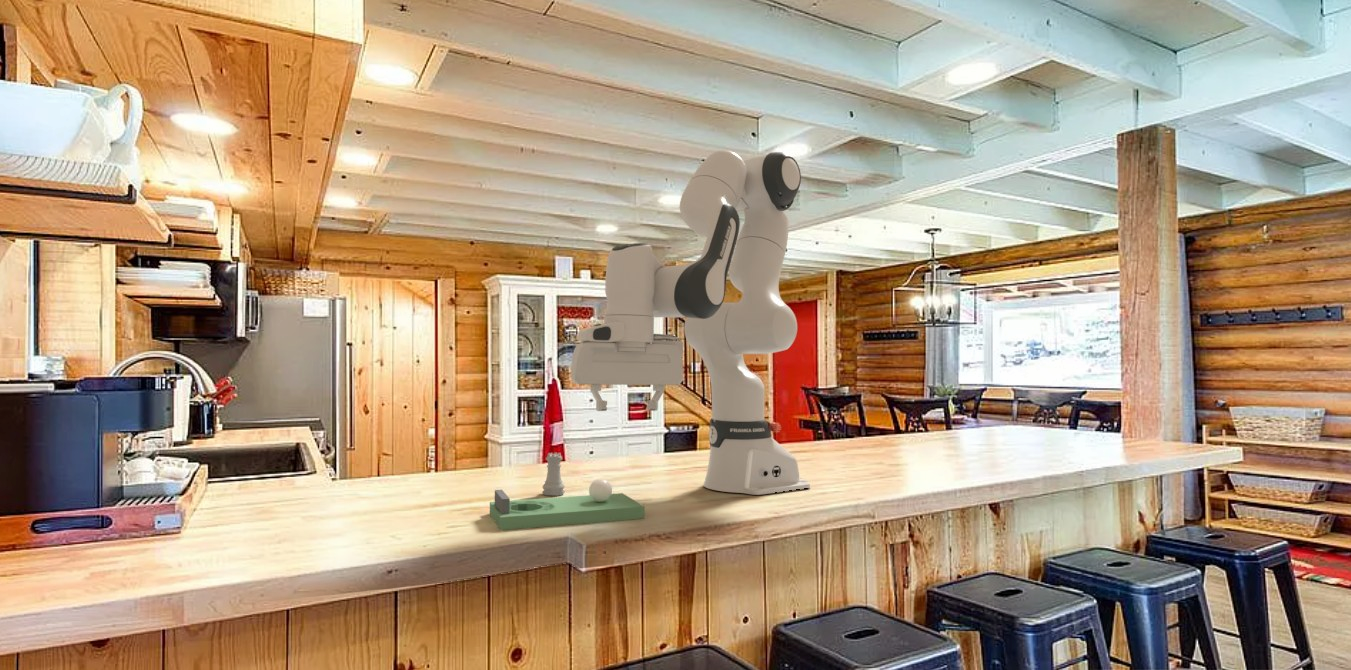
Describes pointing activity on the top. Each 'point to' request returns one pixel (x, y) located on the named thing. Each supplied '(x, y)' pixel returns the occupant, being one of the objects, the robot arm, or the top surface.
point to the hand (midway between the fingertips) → (627, 410)
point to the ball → (600, 490)
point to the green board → (561, 510)
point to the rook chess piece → (553, 476)
